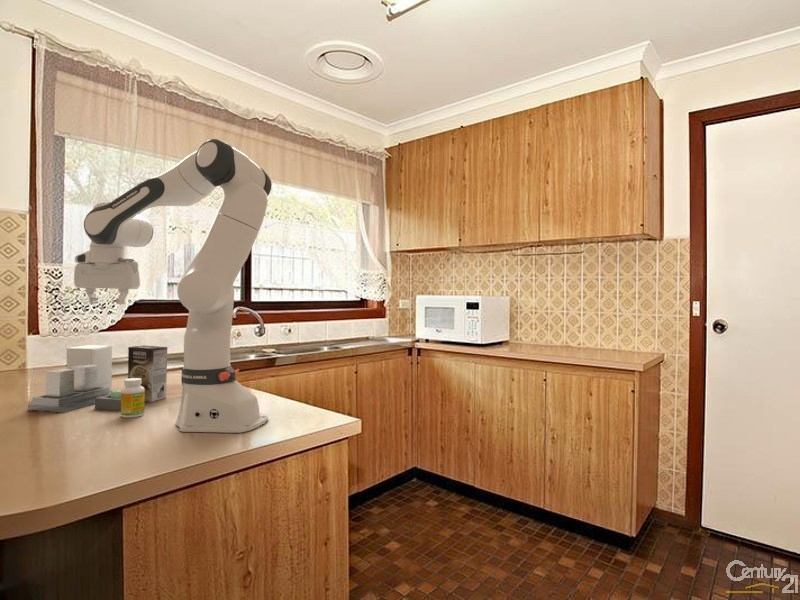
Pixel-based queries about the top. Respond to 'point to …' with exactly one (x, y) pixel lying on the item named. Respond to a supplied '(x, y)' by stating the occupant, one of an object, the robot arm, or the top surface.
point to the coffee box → (149, 369)
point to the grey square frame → (108, 403)
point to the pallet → (83, 392)
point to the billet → (59, 383)
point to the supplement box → (93, 361)
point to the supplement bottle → (132, 398)
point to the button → (115, 394)
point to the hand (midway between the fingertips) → (106, 303)
